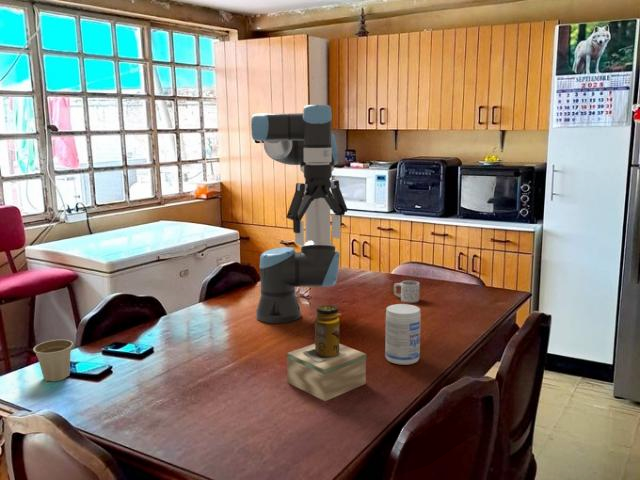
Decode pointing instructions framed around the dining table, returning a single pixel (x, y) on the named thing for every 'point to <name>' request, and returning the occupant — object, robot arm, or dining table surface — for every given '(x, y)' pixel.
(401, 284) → the mug
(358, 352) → the wooden box
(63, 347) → the flower pot
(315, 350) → the condiment
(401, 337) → the supplement tub
